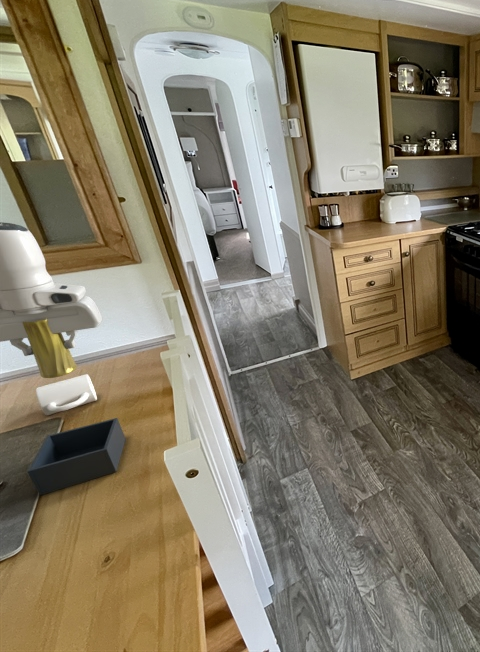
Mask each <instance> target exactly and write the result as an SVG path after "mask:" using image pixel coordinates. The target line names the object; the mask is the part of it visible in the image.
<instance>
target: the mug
mask: <svg viewBox="0 0 480 652" xmlns="http://www.w3.org/2000/svg"><path fill="white" fill-rule="evenodd" d="M35 394H36V399H37V401H38V404H39V406H40V408H41V410H42V412H43V414H44V415H45V416H51V415H54V414H57V413H61V412H64V411H68V410H71V409H73V408H77V407H80V406H82V405H86V404H89V403H92V402H96V401H97V400H98V397H97V393H96V390H95V387H94V384H93V382H92V379H91V377H90V376H89V374H88V373H86V374H82V375H78V376H75V377H71V378H67V379H64V380H59V381H55V382H53V383H49V384H46V385H45V384H44V385H42V386H38V387H37V388H35Z"/></svg>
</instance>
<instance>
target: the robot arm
mask: <svg viewBox="0 0 480 652" xmlns="http://www.w3.org/2000/svg"><path fill="white" fill-rule="evenodd" d="M86 293H87V289H86V287H85V286H83V285H80V284H69V283H62V282H55V281H54V280H53V277H52V276H51V275H50V273H48V271H47V268H46V259H45V256H44V253H43V252H42V249H41V247H40V245H39V243H38V241H37V240H36V237H34V235H33V233H32V232H31V231H30V230H29V229H28V228H26V227H25V226H23V225H19V224H16V223H11V222H1V221H0V343H2V342H8V341H9V342H10V344H11V346H14V347H15V348H17V349H19V350H21V352H22V353H23V355H24V357H28V356H34V354H33V351H32V348H31V345H28V344H27V343H26V342H24V341H23V340H24V339H28V335H27V333H26V331H25V328H24V326H23V323H22V322H34V321H40V320H44V319H47V322H48V326H49V328H50V331H51V332H52V334H56V333H62V334H63V333H65V335H66V337H67V336H68V337H69V338H68V339H64V340H65V342H64V343H63V344H64V346H65V349H69V350H70V349H75V348H76V347H77V343H76V341H75V338H76V336H77V334H78V332H79V331H83V330H88V329H96V328H98V327H99V326H100V324H101V323H102V322H103V317H102V314H101V312H100V309H99V308H98V305H97V303H96V302H95V301H94V299H93V298H91V297H90V296H88V295H86Z"/></svg>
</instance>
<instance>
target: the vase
mask: <svg viewBox="0 0 480 652" xmlns="http://www.w3.org/2000/svg"><path fill="white" fill-rule="evenodd" d="M22 323H23V326H24V328H25V331H26V333H27V335H28V338H27V341H28V343H29V346H31V348H32V351H33V354H34V355H33V357H34V359H35V362H36V366H37V367H38V370H39V375H40V377H41V378H43V379H55V378H60V377H63V376H66V375H69V374H71V373H73V372H74V371H76V370H77V368H78V365H77V364H76V362H75V360H74V358H73V355H72V353H71V352H70V349H65V346H64V344H63V343H64V342H65V340H66V339H65V337H64V335H63V332H62V333H56V334H52V332H51V331H50V328H49V326H48V322H47V319H44V320H40V321H34V322H22Z"/></svg>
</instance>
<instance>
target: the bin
mask: <svg viewBox="0 0 480 652" xmlns="http://www.w3.org/2000/svg"><path fill="white" fill-rule="evenodd" d="M125 444H126V437H125V433H124V431H123V429H122V425H121V423H120V421H119V419H118V417H115V418H110V419H107V420H103V421H99V422H94V423H91V424H87V425H83V426H79V427H76V428H72V429H71V428H70V429H68V430H63V431H60V432H56V433H52V434H48V435H47V436H46V437H45V439H44V440H43V442H42V444H41V445H40V448H39V449H38V451H37V453H36V455H35V456H34V459H33V460H32V462H31V464H30V466H29V467H28V468H27V471H26V474H27V475H28V477H29V479H30V480H31V482H32V484H33V486H34V488H35V490H36V491H37V493H38V495H39V496H44V495H47V494H49V493H53V492H56V491H59V490H62V489H65V488H68V487H69V488H70V487H73V486H76V485H79V484H82V483H85V482H88V481H91V480H95V479H98V478H100V477H104V476H107V475H111V474H115V473H116V472H117V471H118V467H119V464H120V460H121V457H122V453H123V450H124V447H125Z"/></svg>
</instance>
